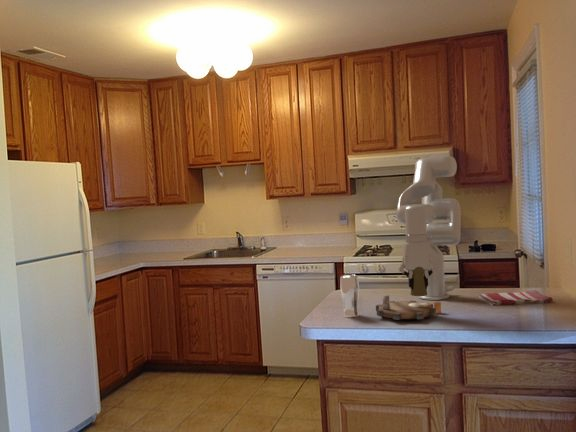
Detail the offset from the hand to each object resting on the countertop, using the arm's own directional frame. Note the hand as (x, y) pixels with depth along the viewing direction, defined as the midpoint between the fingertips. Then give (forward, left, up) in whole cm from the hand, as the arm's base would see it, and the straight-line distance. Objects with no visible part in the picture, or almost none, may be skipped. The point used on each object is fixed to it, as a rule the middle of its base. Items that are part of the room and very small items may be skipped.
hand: (418, 288), depth 183 cm
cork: (0, 0, -2) cm, 3 cm away
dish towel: (-45, +1, -11) cm, 46 cm away
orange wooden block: (+2, -2, -10) cm, 10 cm away
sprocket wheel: (+5, -2, -9) cm, 10 cm away
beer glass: (+21, -14, -10) cm, 27 cm away
